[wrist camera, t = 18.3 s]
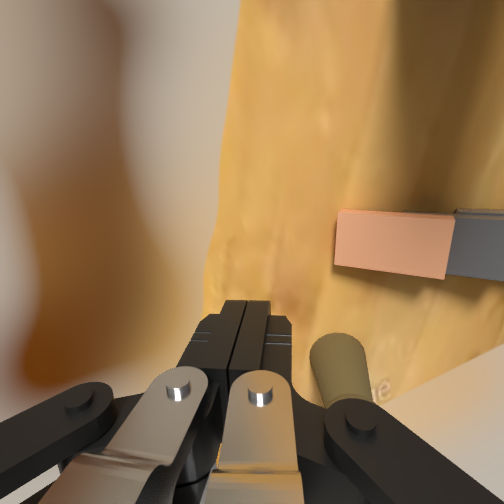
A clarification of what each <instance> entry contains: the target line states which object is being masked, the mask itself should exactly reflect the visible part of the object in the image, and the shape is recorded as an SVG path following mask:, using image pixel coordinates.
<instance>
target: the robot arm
mask: <svg viewBox="0 0 504 504" xmlns="http://www.w3.org/2000/svg"><path fill="white" fill-rule="evenodd" d="M291 370H292V324H291V323H290V322H289V320H288V319H287V318H286V316H275V315H271V304H270V301H256V300H249V301H247V300H226V301H225V303H224V306H223V308H222V310H221V312H220V314H209V315H208V316H207V317H206V318H204V319H203V320H202V321H200V323H199V325H198V327H197V328H196V330H195V333H194V334H193V336H192V338H191V341H190V342H189V344H188V346H187V347H186V349H185V351H184V353H183V355H182V357H181V359H180V360H179V362H178V364H177V366H176V368H173V369H170V370H167V371H165V372H163V373H162V374H160V375H159V376H157V378H155V379H154V380H153V382H152V383H151V384H150V386H149V387H148V389H147V390H146V391H145V393H141V394H137V395H131V396H126V397H121V398H115V399H114V396H113V391H112V389H111V387H110V386H109V385H107V384H105V383H102V382H88V383H84V384H80V385H77V386H75V387H72V388H70V389H68V390H66V391H64V392H62V393H60V394H58V395H56V396H54V397H52V398H50V399H48V400H46V401H43V402H42V403H39V404H38V405H36V406H33V407H31V408H29V409H27V410H25V411H23V412H21V413H19V414H17V415H15V416H13V417H11V418H9V419H7V420H5V421H3V422H1V423H0V499H2V498H3V497H5V496H7V495H8V494H9V493H11V492H13V491H15V490H16V489H18V488H19V487H21V486H23V485H24V484H26V483H27V482H29V481H31V480H32V479H34V478H36V477H37V476H39V475H40V474H42V473H43V472H45V471H47V470H48V469H50V468H52V467H53V466H55V465H56V464H57V465H58V468H59V471H60V476H59V477H58V478H57V480H55V481H54V482H52V483H51V484H49V485H48V486H46V487H44V488H43V489H42V490H40V491H38V492H37V493H35V494H34V495H32V496H31V497H29V498H28V499H26V500H25V501H23V502H21V503H20V504H504V502H503V501H502V500H500V499H499V498H498V497H496V496H495V495H494V494H492V493H491V492H490V491H489V490H487V489H486V488H485V487H484V486H482V485H481V484H480V483H478V482H477V481H476V480H474V479H473V478H472V477H471V476H469V475H468V474H467V473H465V472H464V471H462V470H461V469H460V468H459V467H458V466H456V465H455V464H453V463H452V462H451V461H450V460H449V459H447V458H446V457H445V456H443V455H442V454H441V453H439V452H438V451H437V450H436V449H434V448H433V447H432V446H430V445H429V444H428V443H426V442H425V441H424V440H423V439H421V438H420V437H419V436H417V435H416V434H415V433H413V432H412V431H411V430H410V429H408V428H407V427H406V426H405V425H403V424H402V423H401V422H399V421H398V420H397V419H395V418H394V417H393V416H392V415H390V414H389V413H388V412H386V411H385V410H384V409H382V408H381V407H379V406H378V405H376V404H374V403H372V402H369V401H367V400H363V399H357V398H346V399H341V400H338V401H336V402H334V403H333V404H332V405H331V406H330V407H329V408H328V409H326V408H323V407H320V406H317V405H315V404H312V403H310V402H308V401H306V400H305V399H303V398H302V397H301V396H300V395H299V394H298V393H297V392H296V391H295V389H294V388H293V385H292V382H291ZM220 443H222V446H221V452H220V458H219V464H218V468H217V465H216V459H217V455H218V451H219V447H220Z"/></svg>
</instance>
